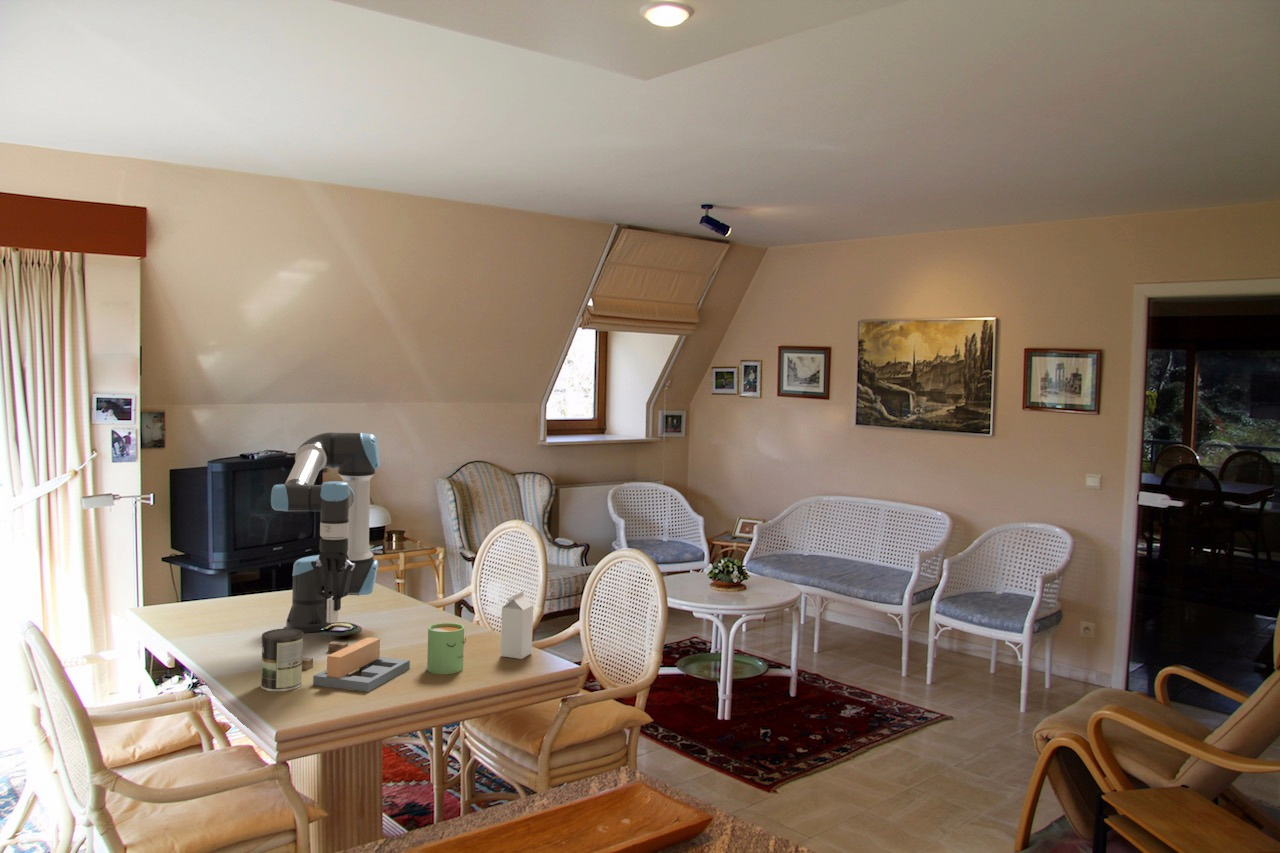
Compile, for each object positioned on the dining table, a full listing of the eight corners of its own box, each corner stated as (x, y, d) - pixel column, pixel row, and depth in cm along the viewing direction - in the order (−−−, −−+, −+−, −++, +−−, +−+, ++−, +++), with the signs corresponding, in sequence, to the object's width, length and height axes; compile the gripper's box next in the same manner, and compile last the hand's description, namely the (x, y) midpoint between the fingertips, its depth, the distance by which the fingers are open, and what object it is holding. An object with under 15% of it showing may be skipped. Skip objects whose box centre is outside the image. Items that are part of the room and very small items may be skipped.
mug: (446, 676, 260) (447, 634, 260) (419, 669, 266) (420, 627, 265) (477, 666, 271) (478, 625, 270) (450, 659, 276) (451, 619, 276)
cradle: (292, 667, 263) (292, 659, 263) (332, 649, 282) (333, 641, 282) (307, 669, 262) (307, 660, 262) (347, 651, 281) (347, 643, 281)
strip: (326, 683, 249) (327, 655, 249) (367, 663, 268) (367, 637, 268) (339, 685, 248) (340, 657, 248) (379, 664, 267) (380, 638, 267)
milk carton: (531, 653, 285) (533, 592, 285) (521, 659, 279) (523, 596, 278) (511, 650, 288) (512, 589, 287) (500, 656, 281) (502, 594, 280)
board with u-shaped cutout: (313, 685, 249) (313, 675, 249) (358, 662, 270) (358, 654, 270) (368, 692, 245) (368, 682, 244) (409, 668, 266) (409, 660, 266)
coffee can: (255, 691, 242) (256, 638, 241) (267, 679, 252) (268, 628, 252) (296, 692, 243) (297, 638, 242) (306, 679, 253) (308, 628, 252)
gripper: (304, 537, 257) (303, 622, 257) (347, 541, 253) (345, 627, 254) (320, 533, 264) (319, 616, 265) (363, 537, 260) (361, 620, 261)
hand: (332, 621), depth 259 cm, fingers closed
